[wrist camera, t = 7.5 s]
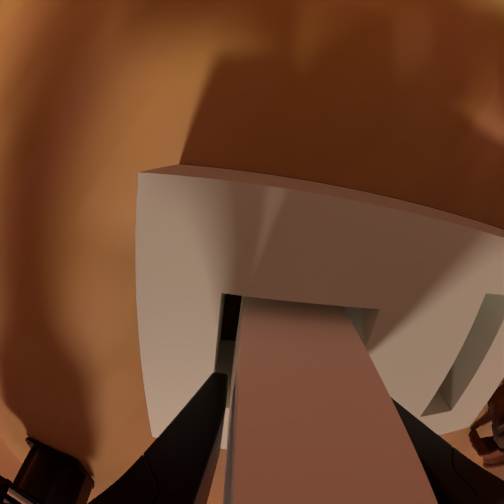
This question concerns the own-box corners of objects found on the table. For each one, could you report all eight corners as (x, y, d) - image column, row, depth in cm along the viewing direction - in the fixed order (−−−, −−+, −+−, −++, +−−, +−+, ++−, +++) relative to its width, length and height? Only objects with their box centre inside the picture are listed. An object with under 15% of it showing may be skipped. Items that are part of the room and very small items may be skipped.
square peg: (232, 364, 10) (219, 581, 3) (243, 288, 9) (233, 570, 2) (315, 370, 11) (362, 569, 3) (338, 299, 10) (447, 528, 2)
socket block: (171, 375, 13) (152, 436, 10) (178, 164, 10) (138, 172, 6) (441, 383, 14) (468, 426, 10) (505, 230, 11) (557, 256, 7)
